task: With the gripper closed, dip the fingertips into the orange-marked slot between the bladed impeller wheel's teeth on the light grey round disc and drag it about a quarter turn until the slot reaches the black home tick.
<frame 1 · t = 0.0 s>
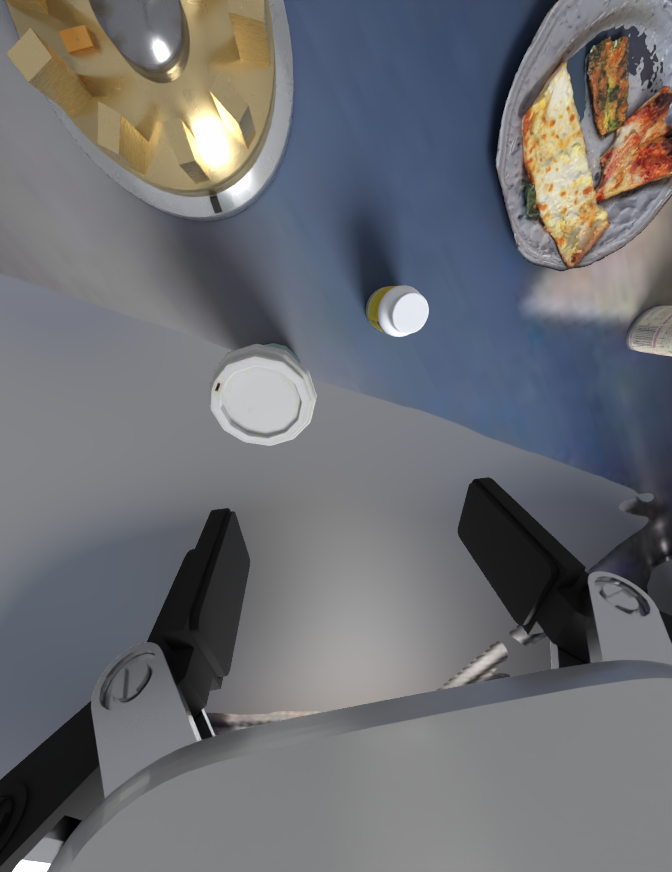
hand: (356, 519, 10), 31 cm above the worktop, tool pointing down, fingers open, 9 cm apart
supplement bottle: (383, 309, 36), on the worktop
light grey round disc: (173, 70, 24), on the worktop
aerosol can: (645, 328, 42), on the worktop
disposable coffee cup: (275, 368, 38), on the worktop
bladed impeller wheel: (142, 13, 19), point 5 cm above the worktop, hinge at 0.0°
food plate: (586, 147, 30), on the worktop
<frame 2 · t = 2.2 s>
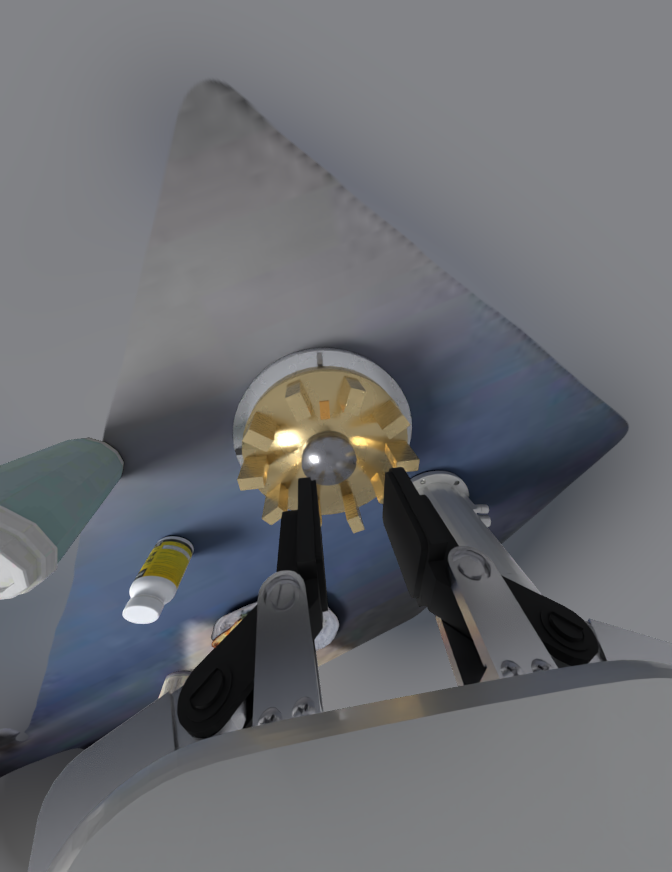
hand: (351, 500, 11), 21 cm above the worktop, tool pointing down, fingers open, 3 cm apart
supplement bottle: (176, 545, 40), on the worktop
light grey round disc: (324, 435, 34), on the worktop
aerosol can: (182, 677, 59), on the worktop
disposable coffee cup: (93, 457, 31), on the worktop
bladed impeller wheel: (328, 457, 29), point 5 cm above the worktop, hinge at 0.0°
food plate: (277, 622, 54), on the worktop
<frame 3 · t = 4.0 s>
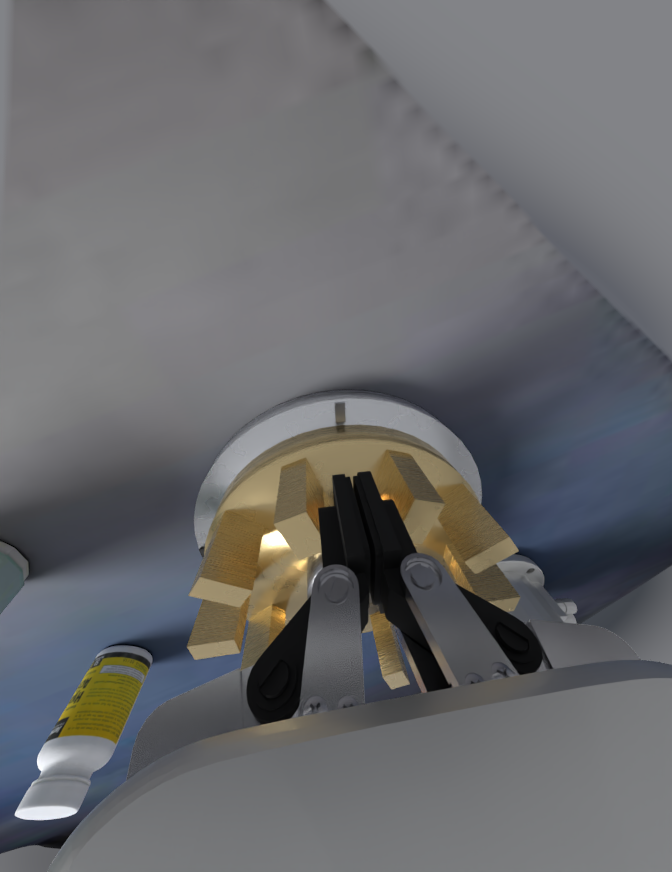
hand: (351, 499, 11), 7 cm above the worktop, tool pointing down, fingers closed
supplement bottle: (127, 653, 28), on the worktop
light grey round disc: (341, 514, 22), on the worktop
bladed impeller wheel: (352, 574, 17), point 5 cm above the worktop, hinge at 0.1°, touching gripper
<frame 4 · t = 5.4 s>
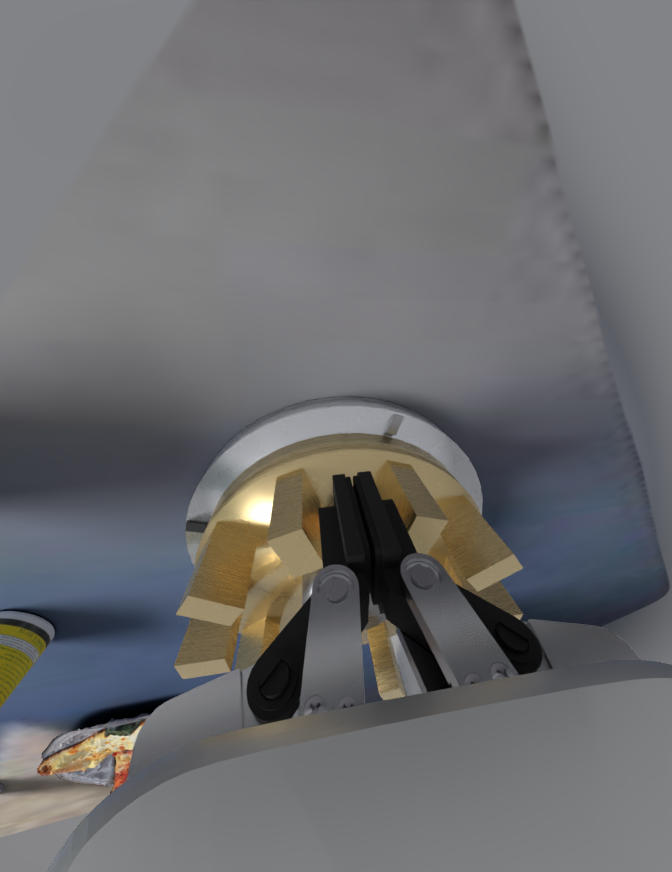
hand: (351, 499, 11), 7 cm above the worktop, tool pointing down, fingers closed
supplement bottle: (22, 623, 23), on the worktop
light grey round disc: (338, 523, 21), on the worktop
bladed impeller wheel: (349, 587, 17), point 5 cm above the worktop, hinge at 19.1°, touching gripper
food plate: (162, 730, 36), on the worktop
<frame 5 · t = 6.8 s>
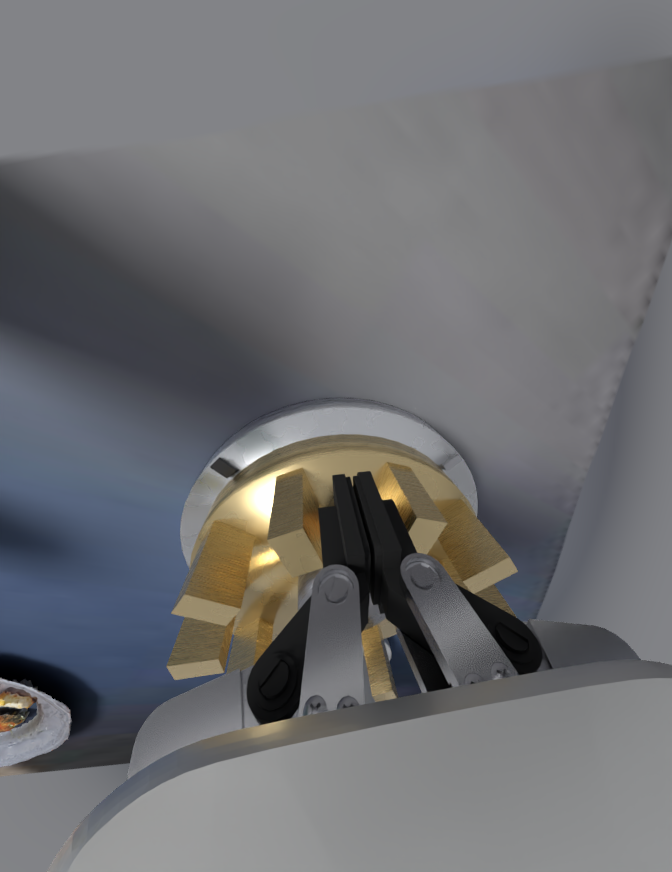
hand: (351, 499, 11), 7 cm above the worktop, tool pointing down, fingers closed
light grey round disc: (335, 524, 21), on the worktop
bladed impeller wheel: (344, 588, 17), point 5 cm above the worktop, hinge at 47.9°, touching gripper
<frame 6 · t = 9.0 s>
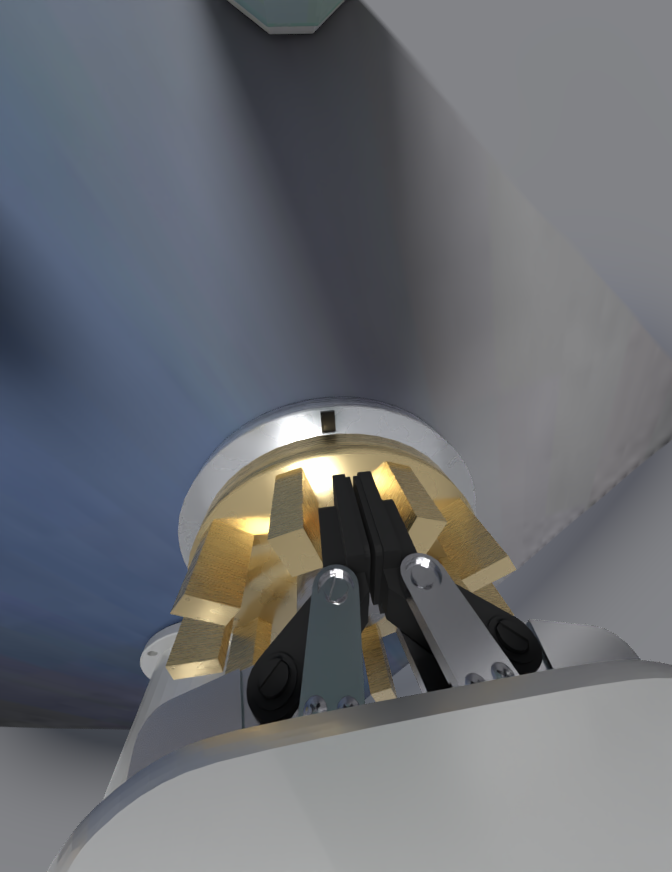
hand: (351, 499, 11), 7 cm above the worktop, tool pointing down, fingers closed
light grey round disc: (333, 523, 21), on the worktop
bladed impeller wheel: (343, 587, 17), point 5 cm above the worktop, hinge at 86.7°, touching gripper
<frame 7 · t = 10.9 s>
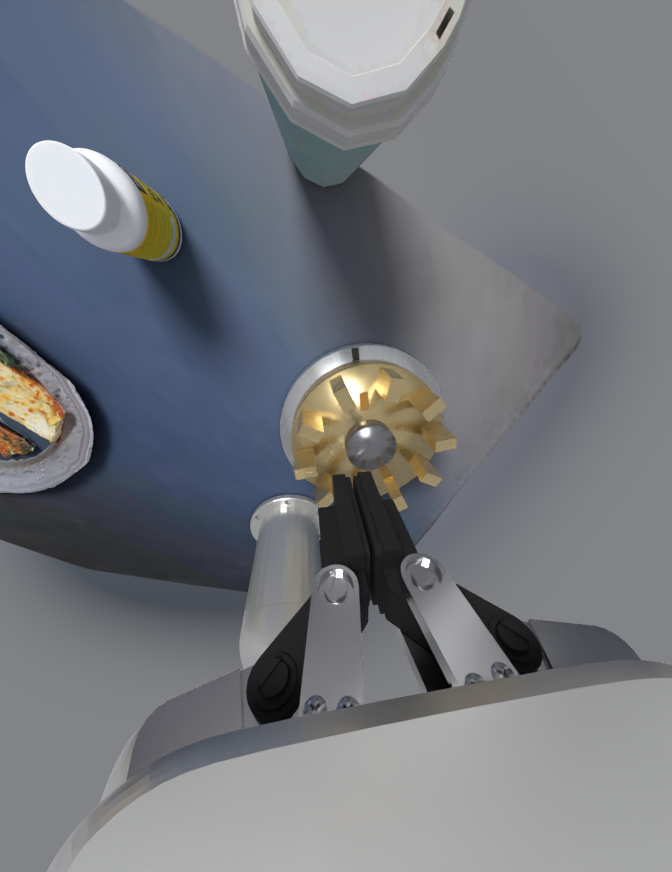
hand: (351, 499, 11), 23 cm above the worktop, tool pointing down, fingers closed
supplement bottle: (152, 227, 24), on the worktop
light grey round disc: (360, 424, 36), on the worktop
disposable coffee cup: (326, 134, 22), on the worktop
bladed impeller wheel: (369, 444, 31), point 5 cm above the worktop, hinge at 90.3°
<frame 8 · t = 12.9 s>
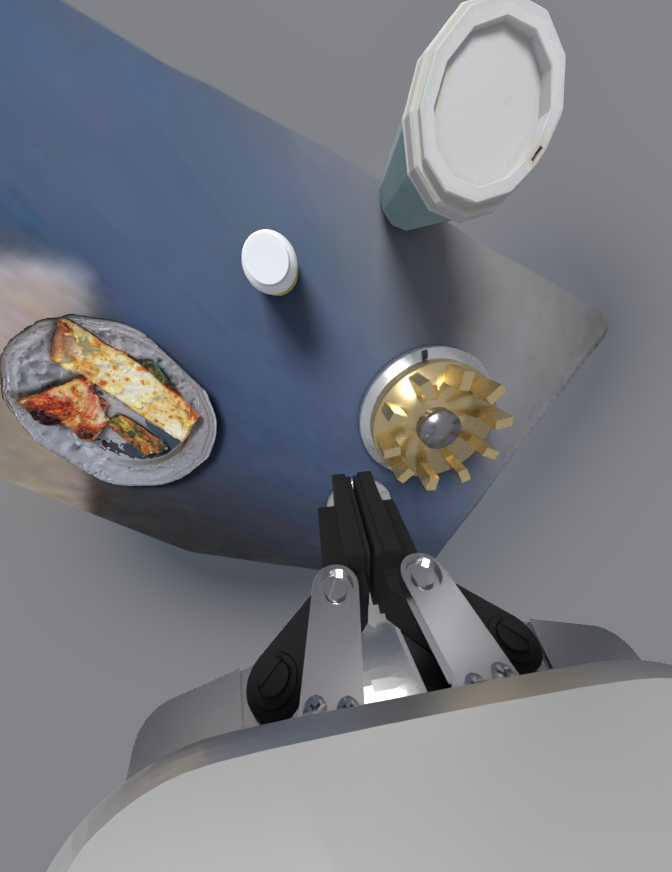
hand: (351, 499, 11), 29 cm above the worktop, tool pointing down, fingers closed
supplement bottle: (276, 270, 31), on the worktop
light grey round disc: (422, 413, 43), on the worktop
disposable coffee cup: (407, 192, 29), on the worktop
bladed impeller wheel: (437, 427, 38), point 5 cm above the worktop, hinge at 90.3°
food plate: (126, 408, 37), on the worktop
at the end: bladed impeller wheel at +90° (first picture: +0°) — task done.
